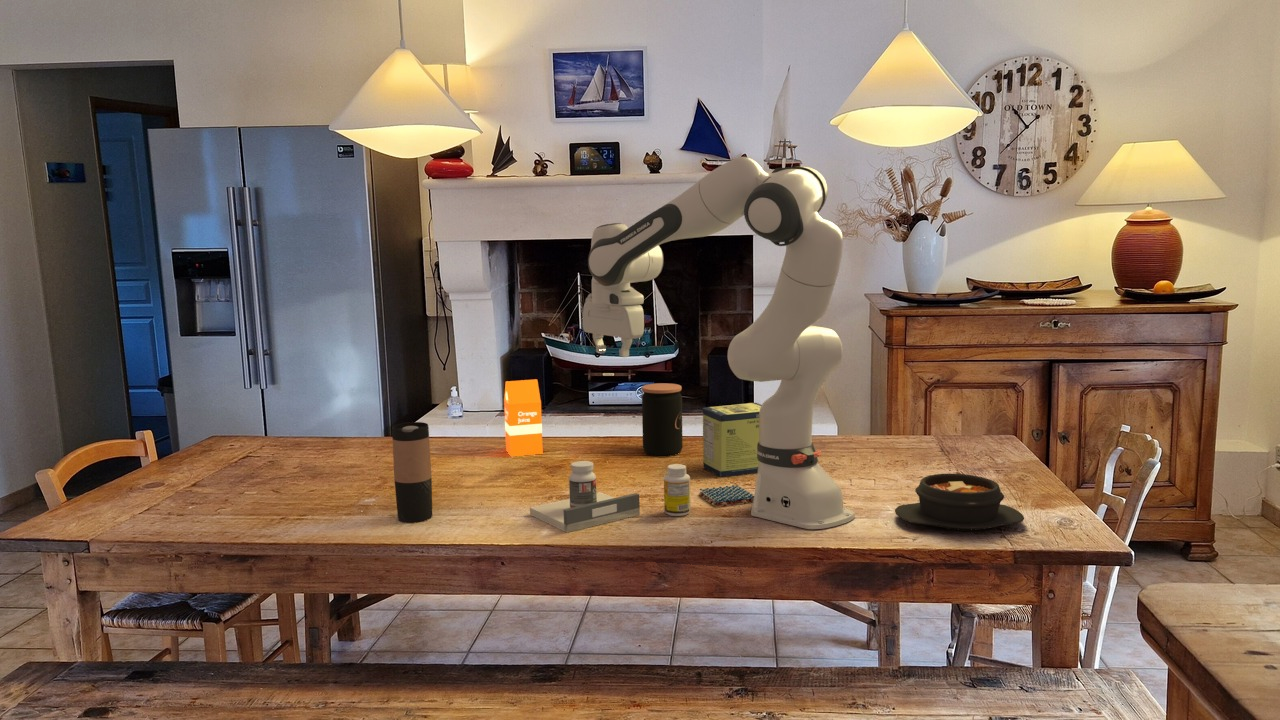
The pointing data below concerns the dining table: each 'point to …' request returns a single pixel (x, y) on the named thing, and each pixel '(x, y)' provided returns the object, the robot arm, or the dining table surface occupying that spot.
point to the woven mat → (726, 496)
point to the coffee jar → (662, 419)
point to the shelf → (587, 512)
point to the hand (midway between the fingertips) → (612, 354)
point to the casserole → (959, 503)
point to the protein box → (731, 439)
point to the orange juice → (523, 418)
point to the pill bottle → (582, 484)
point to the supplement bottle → (677, 491)
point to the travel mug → (412, 471)
